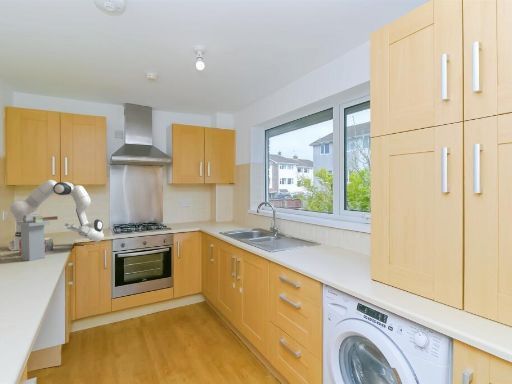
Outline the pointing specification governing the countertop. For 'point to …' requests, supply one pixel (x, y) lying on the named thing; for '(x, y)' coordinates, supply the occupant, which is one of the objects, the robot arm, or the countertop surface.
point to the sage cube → (37, 219)
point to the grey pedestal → (32, 240)
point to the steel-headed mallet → (30, 217)
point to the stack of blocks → (47, 242)
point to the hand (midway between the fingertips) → (68, 224)
